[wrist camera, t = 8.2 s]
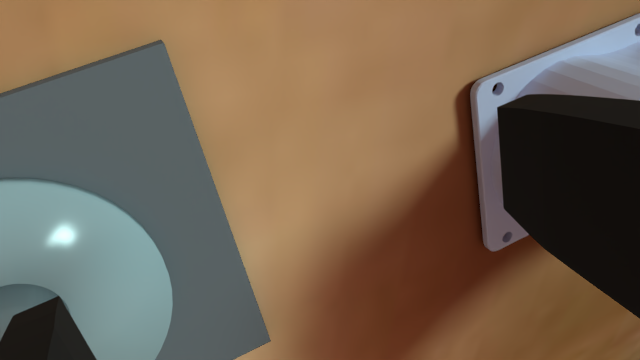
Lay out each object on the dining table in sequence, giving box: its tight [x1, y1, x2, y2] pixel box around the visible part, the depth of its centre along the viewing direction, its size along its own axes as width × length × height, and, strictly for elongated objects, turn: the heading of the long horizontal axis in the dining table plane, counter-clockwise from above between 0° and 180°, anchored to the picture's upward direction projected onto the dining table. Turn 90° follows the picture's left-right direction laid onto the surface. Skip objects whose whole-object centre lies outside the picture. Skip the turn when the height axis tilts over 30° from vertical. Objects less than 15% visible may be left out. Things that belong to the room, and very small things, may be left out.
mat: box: [0, 40, 271, 360], centre depth 18 cm, size 14×12×1 cm
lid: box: [0, 177, 173, 360], centre depth 17 cm, size 9×9×4 cm
